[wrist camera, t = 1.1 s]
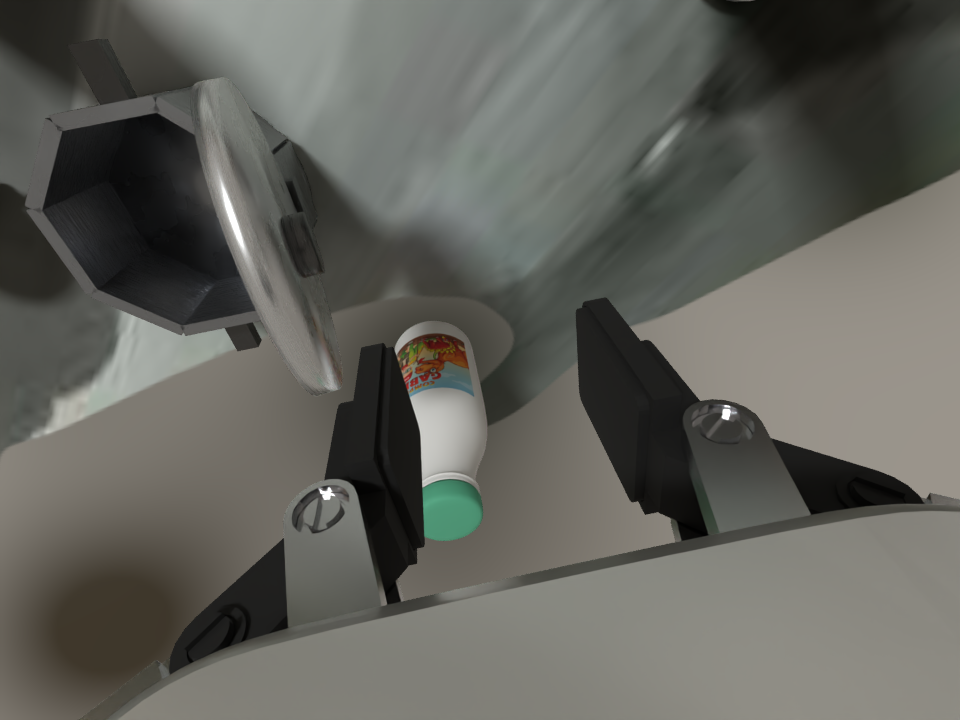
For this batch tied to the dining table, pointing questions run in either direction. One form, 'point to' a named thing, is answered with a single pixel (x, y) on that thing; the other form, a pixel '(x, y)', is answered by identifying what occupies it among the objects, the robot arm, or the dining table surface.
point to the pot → (145, 205)
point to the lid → (266, 235)
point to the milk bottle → (446, 425)
